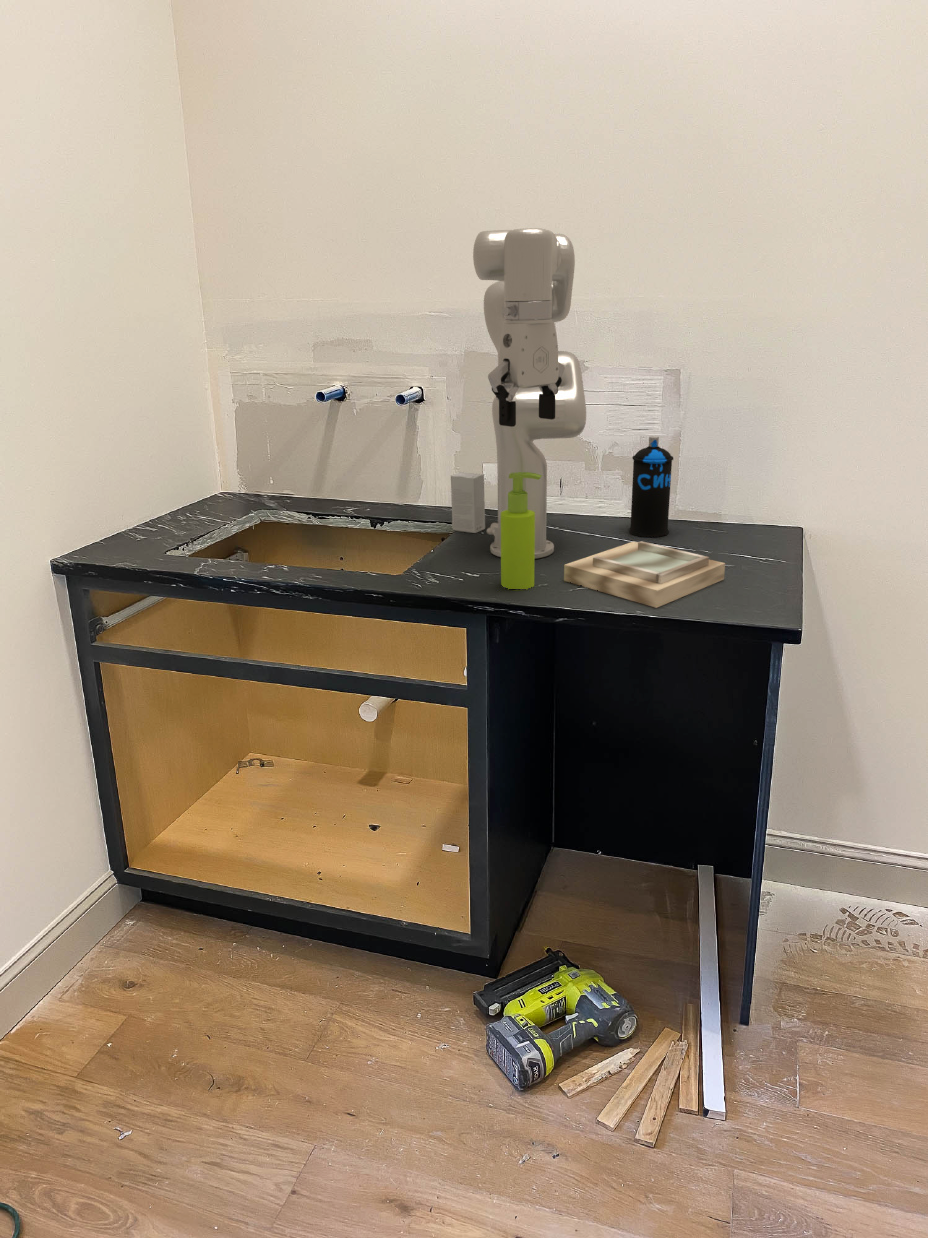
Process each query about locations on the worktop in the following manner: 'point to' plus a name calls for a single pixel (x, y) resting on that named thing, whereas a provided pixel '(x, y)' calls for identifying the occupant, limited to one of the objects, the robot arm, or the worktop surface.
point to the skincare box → (468, 502)
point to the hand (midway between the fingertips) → (527, 422)
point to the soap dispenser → (518, 537)
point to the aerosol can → (651, 490)
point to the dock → (645, 573)
